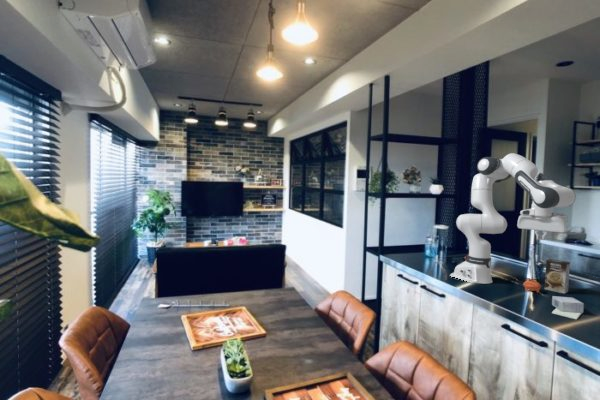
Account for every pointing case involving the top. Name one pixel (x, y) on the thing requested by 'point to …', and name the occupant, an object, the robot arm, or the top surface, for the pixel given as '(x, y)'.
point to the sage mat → (567, 313)
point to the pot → (532, 285)
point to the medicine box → (567, 304)
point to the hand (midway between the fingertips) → (540, 239)
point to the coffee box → (557, 275)
